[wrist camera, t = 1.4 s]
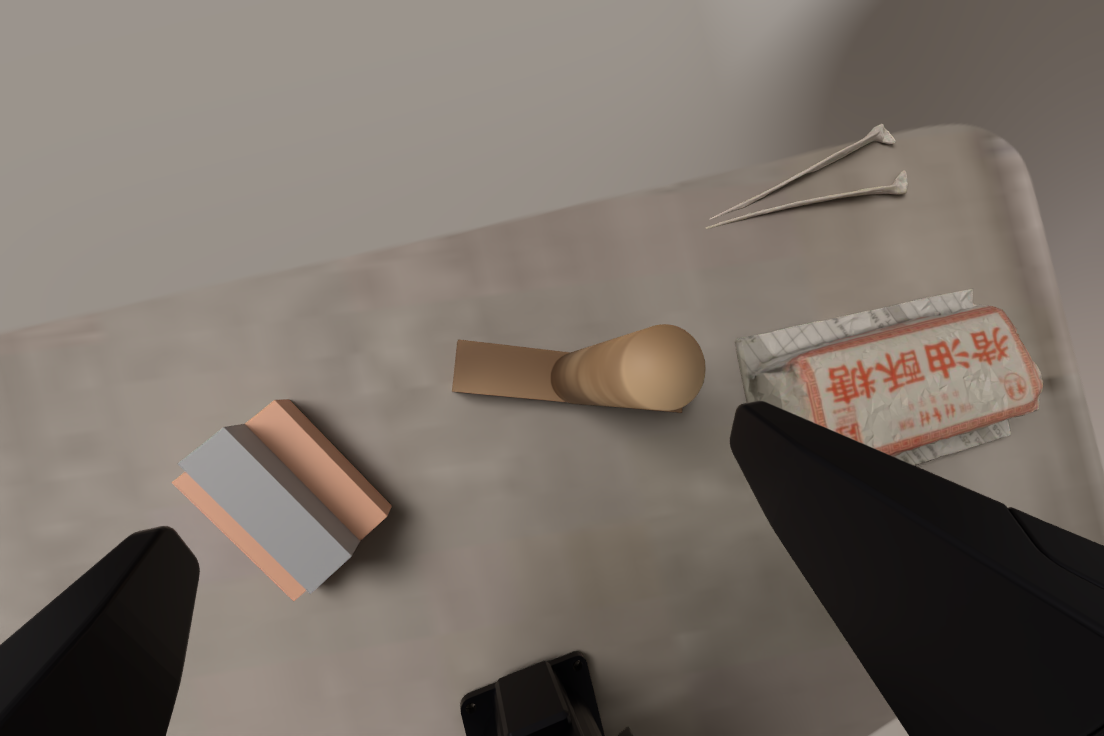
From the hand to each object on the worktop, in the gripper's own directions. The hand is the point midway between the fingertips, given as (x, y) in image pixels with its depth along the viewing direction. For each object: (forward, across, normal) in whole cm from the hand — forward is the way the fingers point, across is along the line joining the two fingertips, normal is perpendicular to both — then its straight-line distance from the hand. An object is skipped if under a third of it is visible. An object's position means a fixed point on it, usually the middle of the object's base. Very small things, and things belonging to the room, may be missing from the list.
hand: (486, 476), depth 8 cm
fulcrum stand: (+12, +9, +11) cm, 19 cm away
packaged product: (+14, -24, +14) cm, 31 cm away
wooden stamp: (+15, -5, +9) cm, 18 cm away
